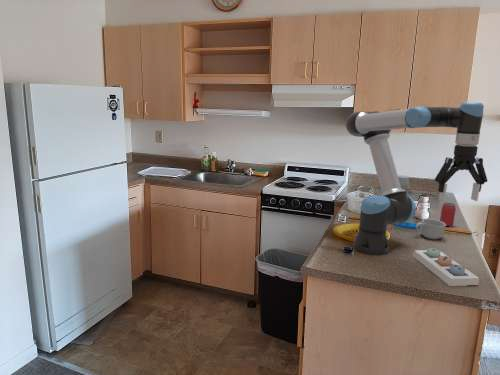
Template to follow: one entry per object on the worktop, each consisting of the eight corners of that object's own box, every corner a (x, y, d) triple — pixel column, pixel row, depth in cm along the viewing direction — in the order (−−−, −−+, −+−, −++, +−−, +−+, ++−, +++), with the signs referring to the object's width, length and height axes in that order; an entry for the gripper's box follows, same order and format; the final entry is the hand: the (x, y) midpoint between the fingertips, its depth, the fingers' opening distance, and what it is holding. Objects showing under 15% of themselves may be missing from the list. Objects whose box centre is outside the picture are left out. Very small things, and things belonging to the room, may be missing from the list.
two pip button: (454, 277, 142) (455, 269, 142) (446, 271, 147) (447, 264, 147) (466, 277, 143) (468, 269, 142) (458, 271, 148) (459, 263, 147)
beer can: (436, 223, 211) (440, 202, 208) (448, 223, 212) (451, 202, 209) (443, 227, 205) (447, 205, 202) (455, 227, 205) (459, 205, 202)
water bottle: (387, 219, 216) (392, 175, 210) (396, 217, 219) (402, 174, 213) (400, 224, 208) (405, 179, 202) (410, 222, 211) (416, 177, 206)
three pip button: (441, 268, 150) (442, 260, 149) (434, 262, 155) (435, 255, 154) (453, 268, 151) (454, 260, 150) (446, 262, 156) (447, 255, 155)
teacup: (438, 234, 194) (441, 219, 192) (447, 242, 184) (449, 226, 182) (410, 232, 196) (412, 217, 194) (417, 240, 185) (419, 224, 183)
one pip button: (430, 259, 158) (431, 252, 157) (423, 254, 163) (424, 247, 162) (441, 259, 158) (442, 252, 158) (434, 254, 163) (436, 247, 163)
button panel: (449, 286, 140) (451, 278, 140) (413, 256, 165) (414, 250, 165) (477, 285, 141) (479, 278, 141) (437, 256, 166) (438, 250, 166)
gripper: (441, 146, 138) (433, 203, 142) (504, 146, 141) (494, 202, 146) (429, 143, 145) (422, 198, 150) (489, 144, 148) (480, 197, 153)
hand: (458, 200), depth 148 cm, fingers open, 13 cm apart
